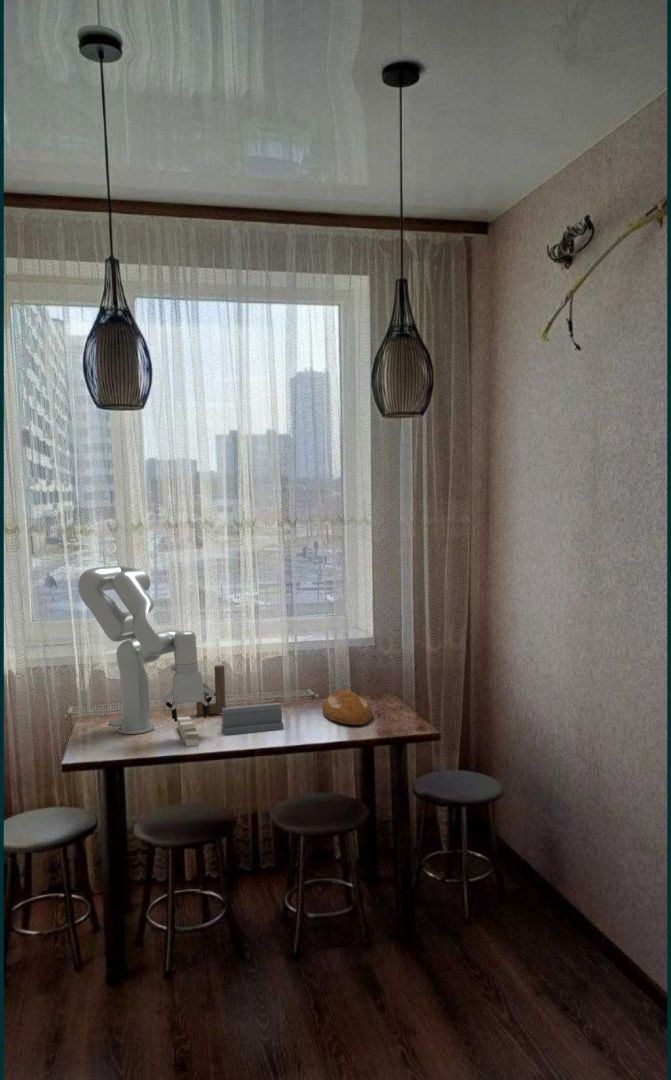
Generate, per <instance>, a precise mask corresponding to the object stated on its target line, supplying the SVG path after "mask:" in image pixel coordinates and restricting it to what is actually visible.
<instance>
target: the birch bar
mask: <svg viewBox="0 0 671 1080" xmlns="http://www.w3.org/2000/svg"><path fill="white" fill-rule="evenodd" d="M177 728H178V731H179V733H180V735H181V738H182V740H183V742H184V744H185V746H186V747H192V746H194V747H195V746H199V745H200V736H199V735H200V733H199V731H198V730H197V728H196V727H195V725H194V723H193V720H192V719H191V717H190V716H182V717H181V716H180V717H177Z"/></svg>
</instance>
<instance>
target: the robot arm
mask: <svg viewBox="0 0 671 1080" xmlns="http://www.w3.org/2000/svg"><path fill="white" fill-rule="evenodd" d="M77 587H78V589H77V590H78V594H79V596H80V598H81V600H82V602H83V603H84V605H85V606H86V608H88V610H89V611H90V613H92V615H93V616H94V618H95V620H96V622H97V623H98V624H99V626H100V628H101V629H102V630H103V632H104V634H105V635H106V636H107V638H108V639H109V640H110V641H112V642H122V643H121V644H119V645H118V647H117V649H116V653H115V654H116V655H115V656H116V662H117V665H118V671H119V681H120V702H121V703H120V704H121V716H120V718H117V719H109V720H108V721H107V723H108V727H113V728H114V727H117V733H119V732H120V733H119V734H122V735H137V734H138V735H139V734H144V733H149V732H151V731H154V730H155V728H156V725H155V724H154V723H153V722H151V716H150V715H151V714H150V713H151V712H150V711H151V710H150V685H149V684H150V683H149V675H148V673H147V670H146V667H145V666H144V665H146V664H150V663H153V662H155V661H158V660H159V659H160V658H161V656H162V655H165V654H170V653H173V657H174V665H172V666H170V671H171V672H172V671H173V672H174V673H173V676H172V690H171V691H169V692H168V693H167V694H165V695H164V696H162V697H161V699H162V701H163V702H164V704H165V705H166V707H167V708H169V709H170V710H171V719H172V720H173V721H174V722H176V723H178V716H177V715H178V714H177V713H178V712H177V711H178V710H177V709H176V708H177V706H178V705H183V704H193V703H196V702H200V701H201V702H202V703H203V705H202V712H203V716H202V717H203V718H204V719H207V715H208V716H209V714H208V711H207V705H208V704H210V702H211V701H212V700H213V697H214V696H213V695H214V692H215V690H212V689H211V688H210V689H211V690H210V689H207V688H205V687H203V683H204V680H203V676H202V672H201V670H199V665H198V664H199V663H198V650H197V640H196V639H197V637H196V633H195V632H194V631H193V630H183V631H179V630H176V629H170V630H169V629H168V630H163V631H159V632H156V631H155V630H154V628H153V627H152V625H151V624H150V622H149V617H148V616H149V614H150V613H151V611H152V610H153V609H154V608H155V602H154V600H153V598H151V596H150V595H149V594H148V592H147V591H148V590H149V589H150V587H151V579H150V576H149V575H148V573H147V572H146V571H144V570H142V569H138V568H133V567H127V566H121V565H110V566H109V565H108V566H100V567H99V566H98V567H92V568H89V569H87V570H86V571H84V572H82V574H81V575H80V577H79V579H78V584H77ZM111 590H112V591H113V590H114V592H115V593H116V595H117V596H118V598H119V600H121V602H122V603H123V605H124V606H125V607H126V608H127V610H128V611H127V612H123V611H122V610H121V609H120V608H119V606H118V605H117V603H116V601H114V599H113V598H111V597H110V596H109V595H107V594H106V593H105V592H106V591H111ZM104 591H105V592H104ZM204 692H207V693H209V696H207V697H206V700H205V699H204ZM171 697H172V699H173V702H172V703H171V702H170V701H169V700H168V699H170V698H171Z"/></svg>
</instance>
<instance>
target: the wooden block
mask: <svg viewBox="0 0 671 1080" xmlns="http://www.w3.org/2000/svg"><path fill="white" fill-rule="evenodd" d="M224 665H225V664H216V665H214V695H213V697H215V703H214V702H213V703H209V704H208V705H207V711H208V715H209V714H219V715H221V714H220V713H222V708H227V704H226V683H225V682H226V680H225V666H224ZM203 687H205V688H207V689H210V690H212V689H211V688H210V687H209V685H207V684H206V683H204V682H203ZM208 696H209V693H207V692H204V699H205V700H206V699H207V697H208ZM195 703H196V716H197V715H203V712H202V705H203V703H202V702H201V701H200V702H195Z"/></svg>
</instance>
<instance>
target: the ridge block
mask: <svg viewBox="0 0 671 1080" xmlns="http://www.w3.org/2000/svg"><path fill="white" fill-rule="evenodd" d="M282 715H283V712H282V704H281V703H280V702H275V703H274V702H273V703H264V704H254V705H241V706H232V707H226V708H222V714H221V718H222V719H221V721H222V722H221V731H222V732H223V734H224V735H225V736H231V735H232V736H233V735H239V734H240V735H241V734H249V733H251V734H252V733H260V732H269V731H270V732H271V731H277V730H278V731H279V730H284V722H283V716H282Z"/></svg>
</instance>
